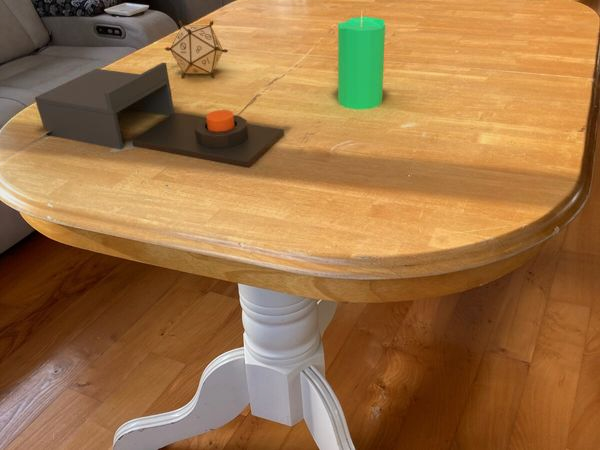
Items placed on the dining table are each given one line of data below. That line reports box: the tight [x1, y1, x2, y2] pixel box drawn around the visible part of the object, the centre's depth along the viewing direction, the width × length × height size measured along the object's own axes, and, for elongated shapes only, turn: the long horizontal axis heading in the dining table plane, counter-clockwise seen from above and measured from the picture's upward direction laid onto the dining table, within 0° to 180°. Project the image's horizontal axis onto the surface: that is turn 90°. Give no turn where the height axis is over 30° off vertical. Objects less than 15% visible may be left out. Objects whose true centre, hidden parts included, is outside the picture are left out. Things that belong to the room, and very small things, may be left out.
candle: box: [337, 10, 386, 110], centre depth 76 cm, size 6×6×12 cm
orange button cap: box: [205, 109, 235, 132], centre depth 69 cm, size 3×3×2 cm
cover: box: [34, 62, 175, 150], centre depth 74 cm, size 12×11×7 cm
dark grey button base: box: [131, 111, 285, 169], centre depth 70 cm, size 16×9×2 cm, turn 66°
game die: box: [164, 20, 229, 79], centre depth 89 cm, size 9×8×10 cm
